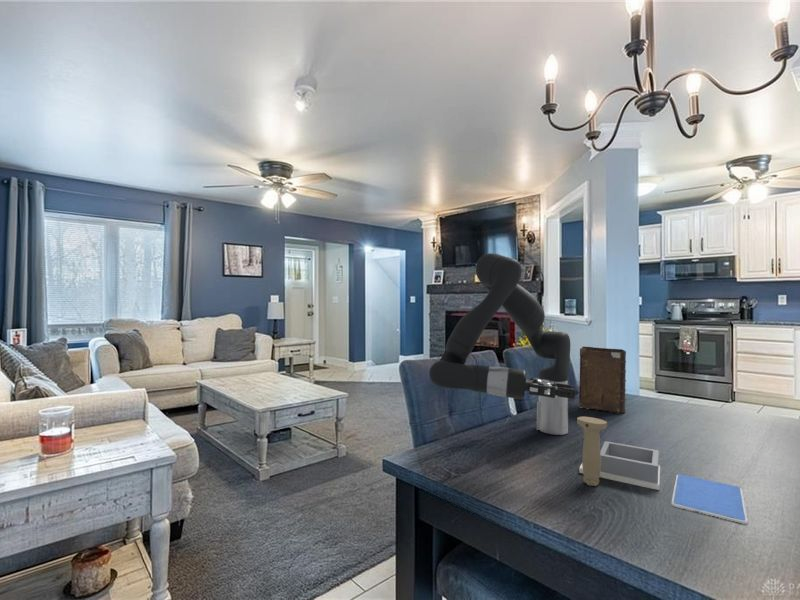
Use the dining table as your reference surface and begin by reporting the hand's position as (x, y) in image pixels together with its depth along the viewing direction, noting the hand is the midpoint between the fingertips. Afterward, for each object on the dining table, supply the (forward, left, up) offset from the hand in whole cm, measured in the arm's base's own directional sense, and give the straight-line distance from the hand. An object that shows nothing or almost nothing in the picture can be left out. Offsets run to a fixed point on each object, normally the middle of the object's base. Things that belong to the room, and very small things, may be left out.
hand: (572, 391), depth 102 cm
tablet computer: (+27, +4, -21) cm, 35 cm away
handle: (+5, -3, -21) cm, 22 cm away
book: (-2, +74, -21) cm, 77 cm away
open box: (+10, +9, -21) cm, 25 cm away
